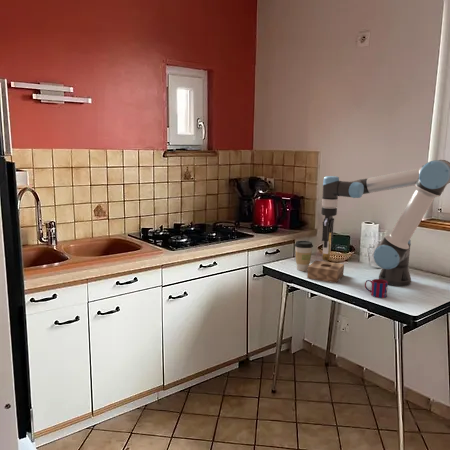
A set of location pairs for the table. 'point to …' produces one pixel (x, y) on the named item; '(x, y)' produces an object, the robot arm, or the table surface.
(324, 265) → the socket block
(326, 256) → the pin
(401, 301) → the table surface
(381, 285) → the cup
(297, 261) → the coffee cup
